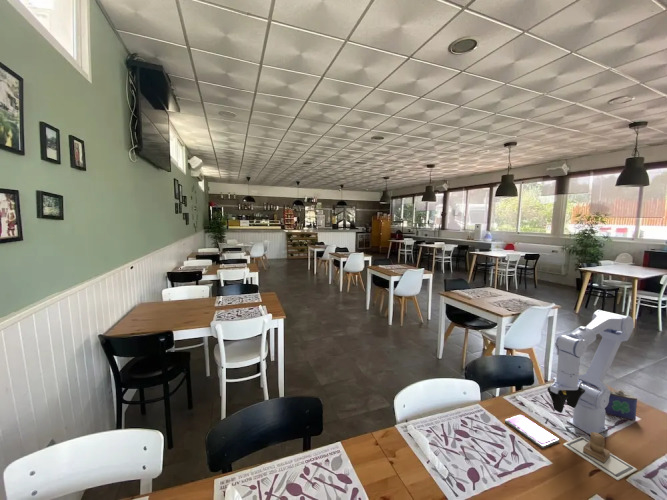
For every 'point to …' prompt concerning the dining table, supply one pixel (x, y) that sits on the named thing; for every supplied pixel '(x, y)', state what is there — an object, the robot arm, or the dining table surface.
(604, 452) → the stamp
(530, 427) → the ink pad
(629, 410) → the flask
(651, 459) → the dining table surface
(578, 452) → the marked card
